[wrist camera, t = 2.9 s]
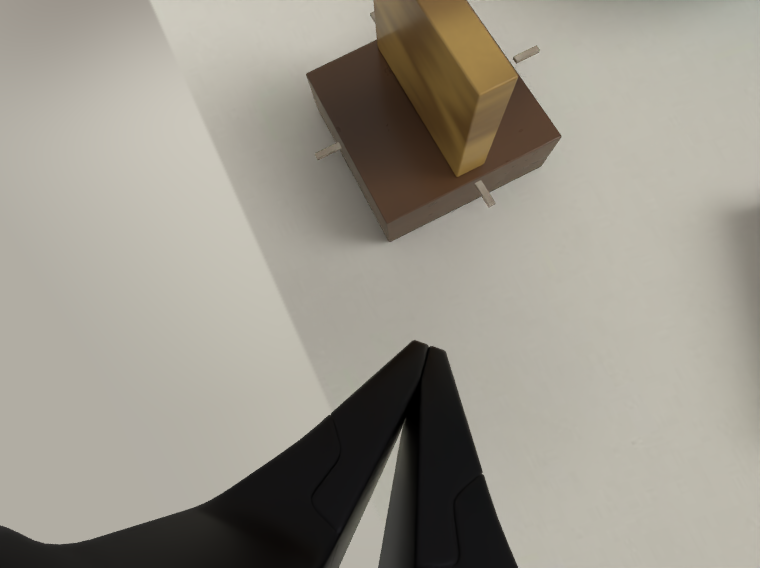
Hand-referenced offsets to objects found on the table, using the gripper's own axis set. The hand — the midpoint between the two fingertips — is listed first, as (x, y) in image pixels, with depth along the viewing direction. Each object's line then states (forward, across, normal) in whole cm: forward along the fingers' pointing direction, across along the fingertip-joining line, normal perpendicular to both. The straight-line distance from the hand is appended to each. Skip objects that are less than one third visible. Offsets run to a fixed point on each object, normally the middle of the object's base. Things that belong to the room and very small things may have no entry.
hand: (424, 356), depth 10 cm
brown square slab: (+17, +4, -1) cm, 17 cm away
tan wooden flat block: (+15, +4, -3) cm, 16 cm away
